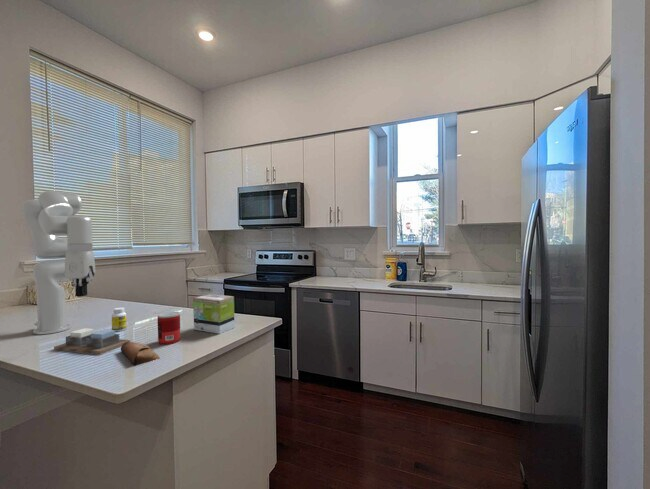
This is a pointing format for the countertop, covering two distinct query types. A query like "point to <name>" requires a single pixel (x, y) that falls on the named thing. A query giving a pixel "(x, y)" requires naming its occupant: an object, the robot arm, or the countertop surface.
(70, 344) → the key panel
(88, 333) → the white key
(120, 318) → the supplement bottle
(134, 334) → the countertop surface
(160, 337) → the canned food
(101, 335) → the light blue block
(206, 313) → the tea box
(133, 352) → the sunglasses case
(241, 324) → the countertop surface
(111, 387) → the countertop surface
